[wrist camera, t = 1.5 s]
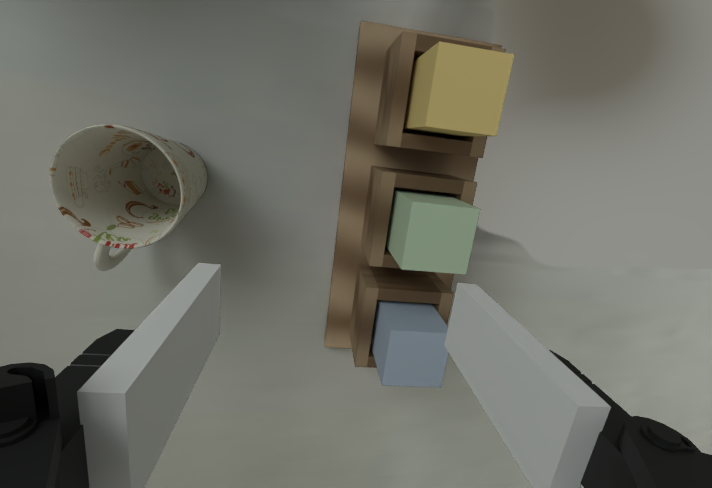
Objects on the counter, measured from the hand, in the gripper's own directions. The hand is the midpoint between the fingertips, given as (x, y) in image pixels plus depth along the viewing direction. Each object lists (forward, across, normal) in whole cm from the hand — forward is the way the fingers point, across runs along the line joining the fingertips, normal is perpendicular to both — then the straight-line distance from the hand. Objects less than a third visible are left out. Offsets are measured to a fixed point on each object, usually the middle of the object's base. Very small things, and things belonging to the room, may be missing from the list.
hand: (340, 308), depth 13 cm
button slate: (+19, +8, -10) cm, 23 cm away
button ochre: (+19, +8, +10) cm, 23 cm away
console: (+23, +8, 0) cm, 25 cm away
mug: (+24, -15, -1) cm, 28 cm away
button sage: (+19, +8, 0) cm, 21 cm away
